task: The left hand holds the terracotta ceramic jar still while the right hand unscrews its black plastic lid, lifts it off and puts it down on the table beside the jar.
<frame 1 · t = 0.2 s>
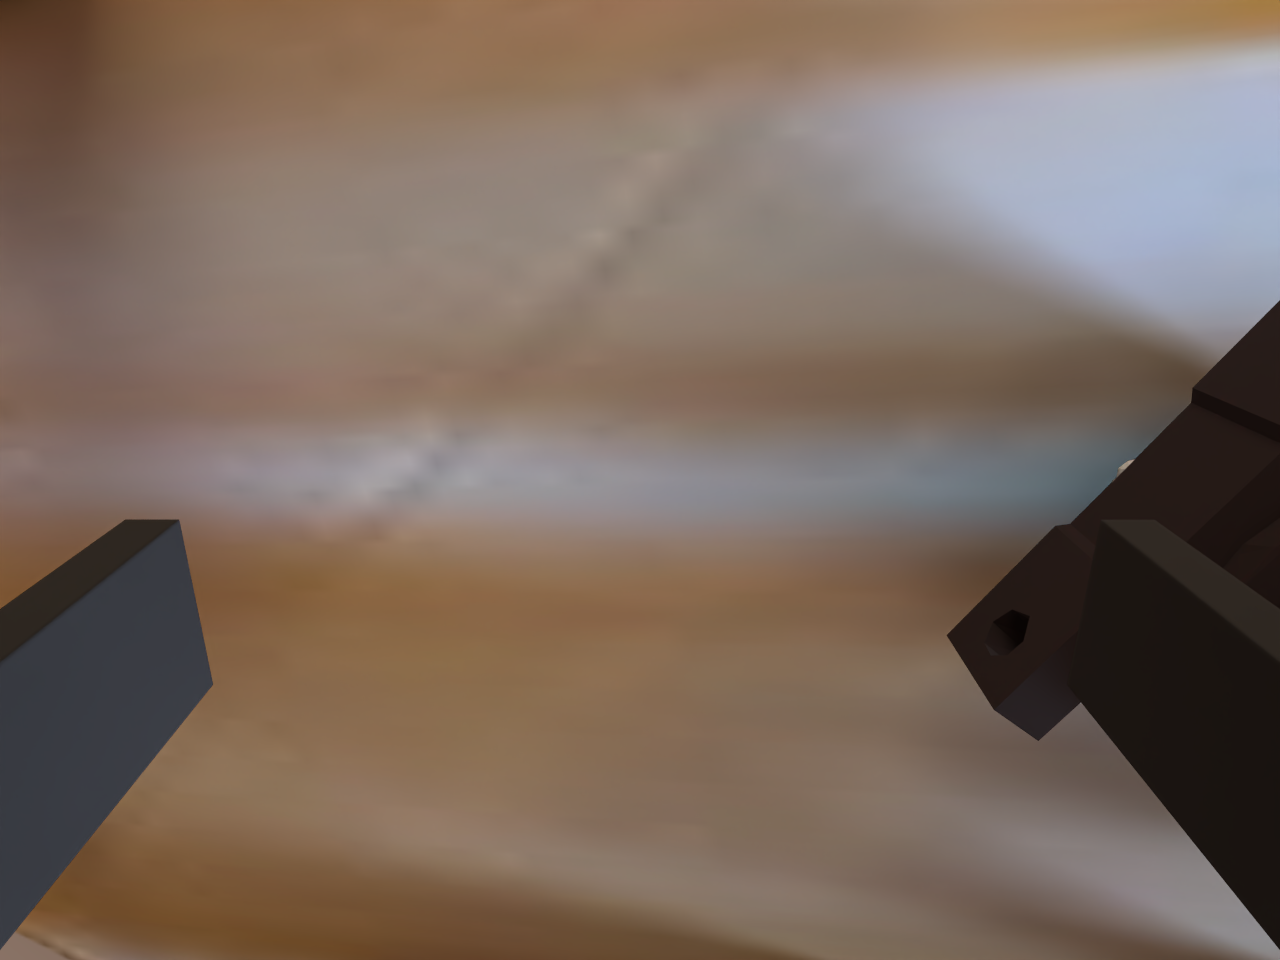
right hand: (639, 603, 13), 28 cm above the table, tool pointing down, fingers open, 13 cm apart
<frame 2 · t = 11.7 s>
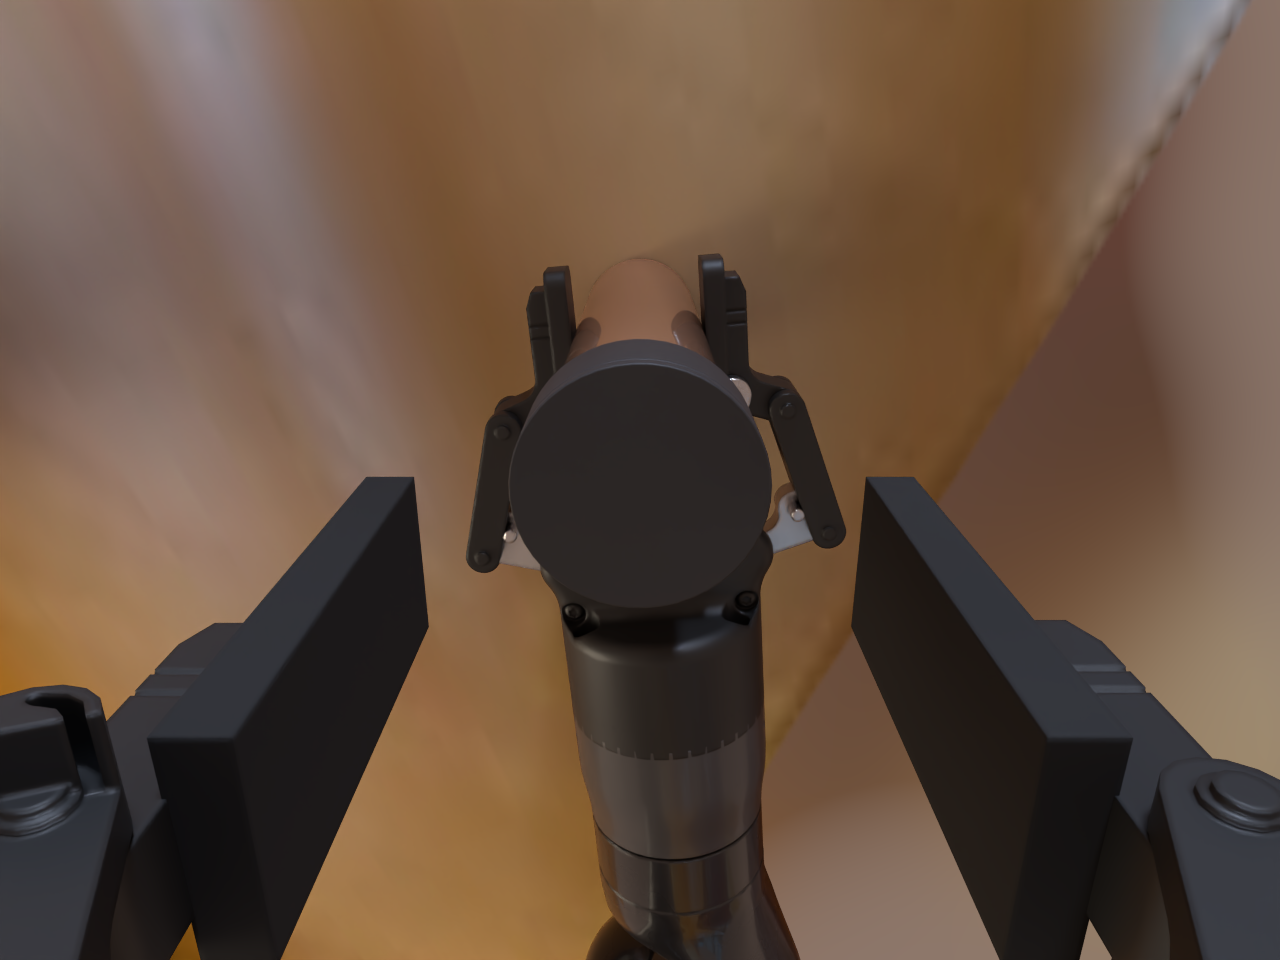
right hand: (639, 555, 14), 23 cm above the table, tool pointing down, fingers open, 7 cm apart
left hand: (632, 265, 28), fingers closed on jar, 4 cm apart
jar: (639, 313, 35), on the table, touching left hand
lid: (640, 486, 17), point 19 cm above the table, screwed on, not yet turned
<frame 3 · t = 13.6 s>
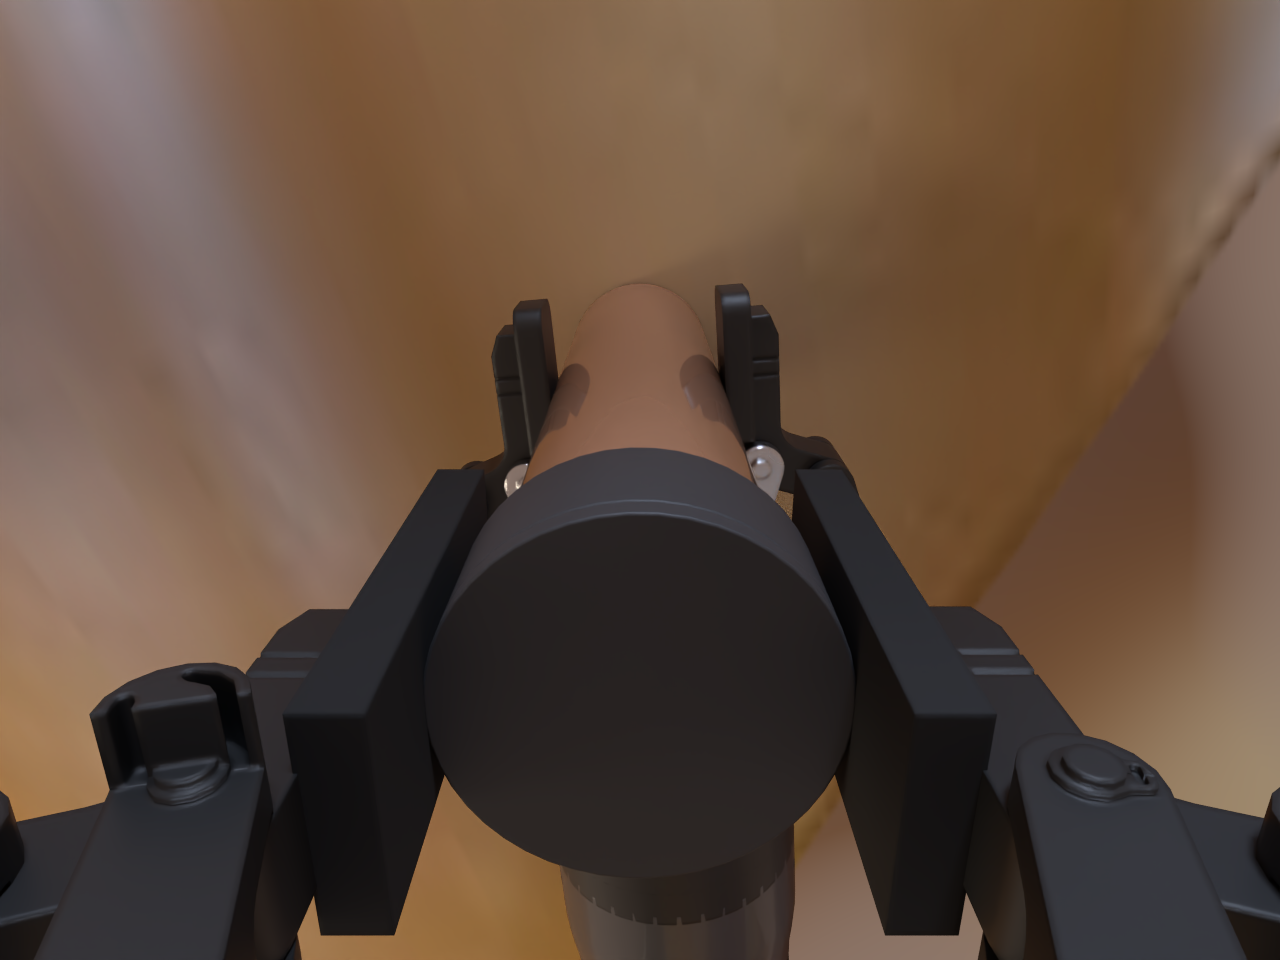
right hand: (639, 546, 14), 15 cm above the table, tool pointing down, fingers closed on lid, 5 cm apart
jar: (639, 350, 29), on the table, touching left hand
lid: (639, 694, 10), point 19 cm above the table, screwed on, not yet turned, touching right hand
when the right hand's fingers open (15 cm above the table, at t = 14.7 s): lid stays where it is, point 20 cm above the table.
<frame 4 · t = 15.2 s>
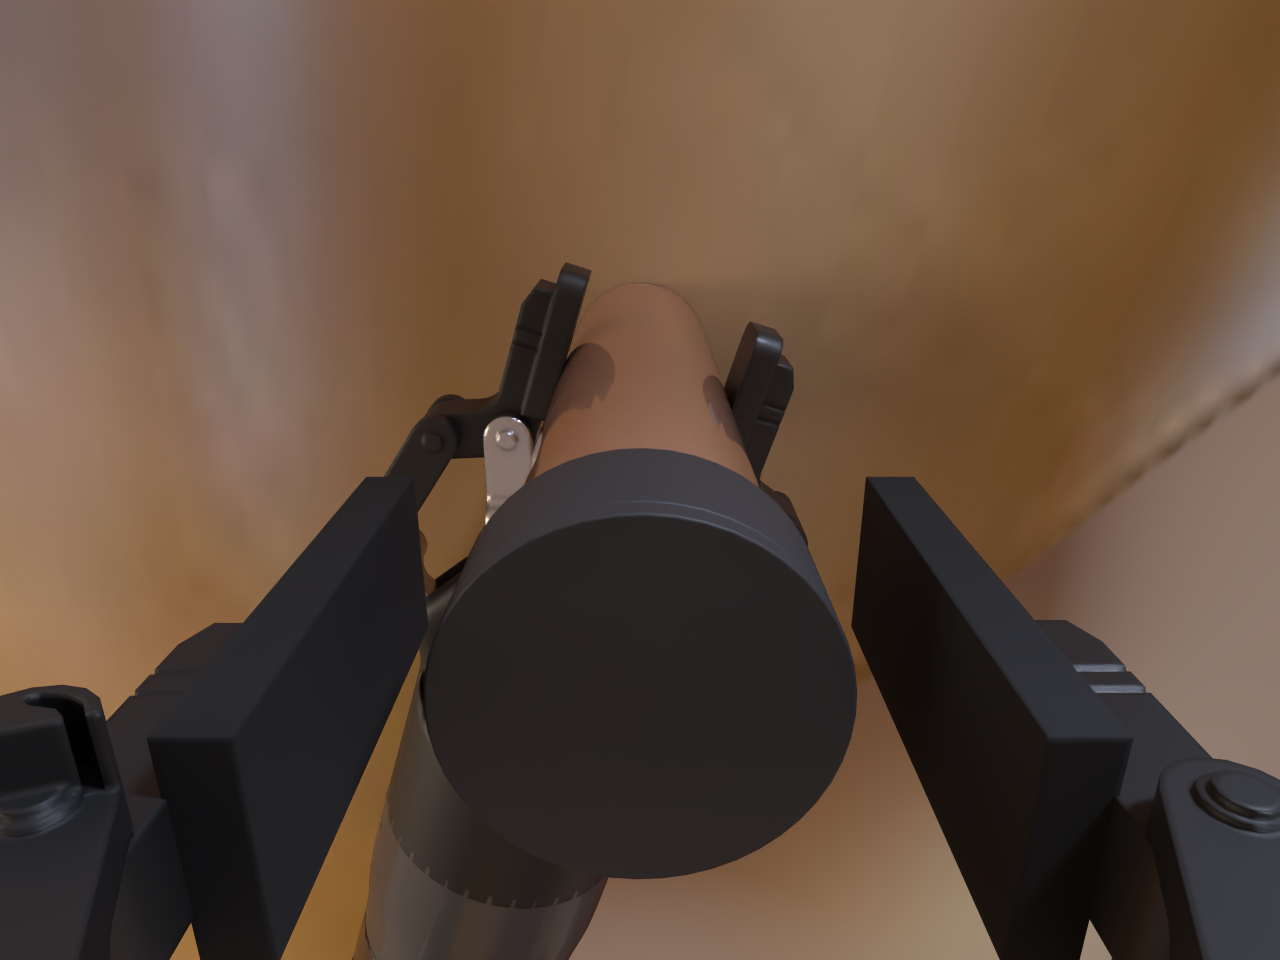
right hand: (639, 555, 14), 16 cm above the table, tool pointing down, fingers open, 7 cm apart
jar: (639, 349, 29), on the table, touching left hand
lid: (640, 695, 10), point 20 cm above the table, turned 70° so far, risen 0.2 cm, still on its thread
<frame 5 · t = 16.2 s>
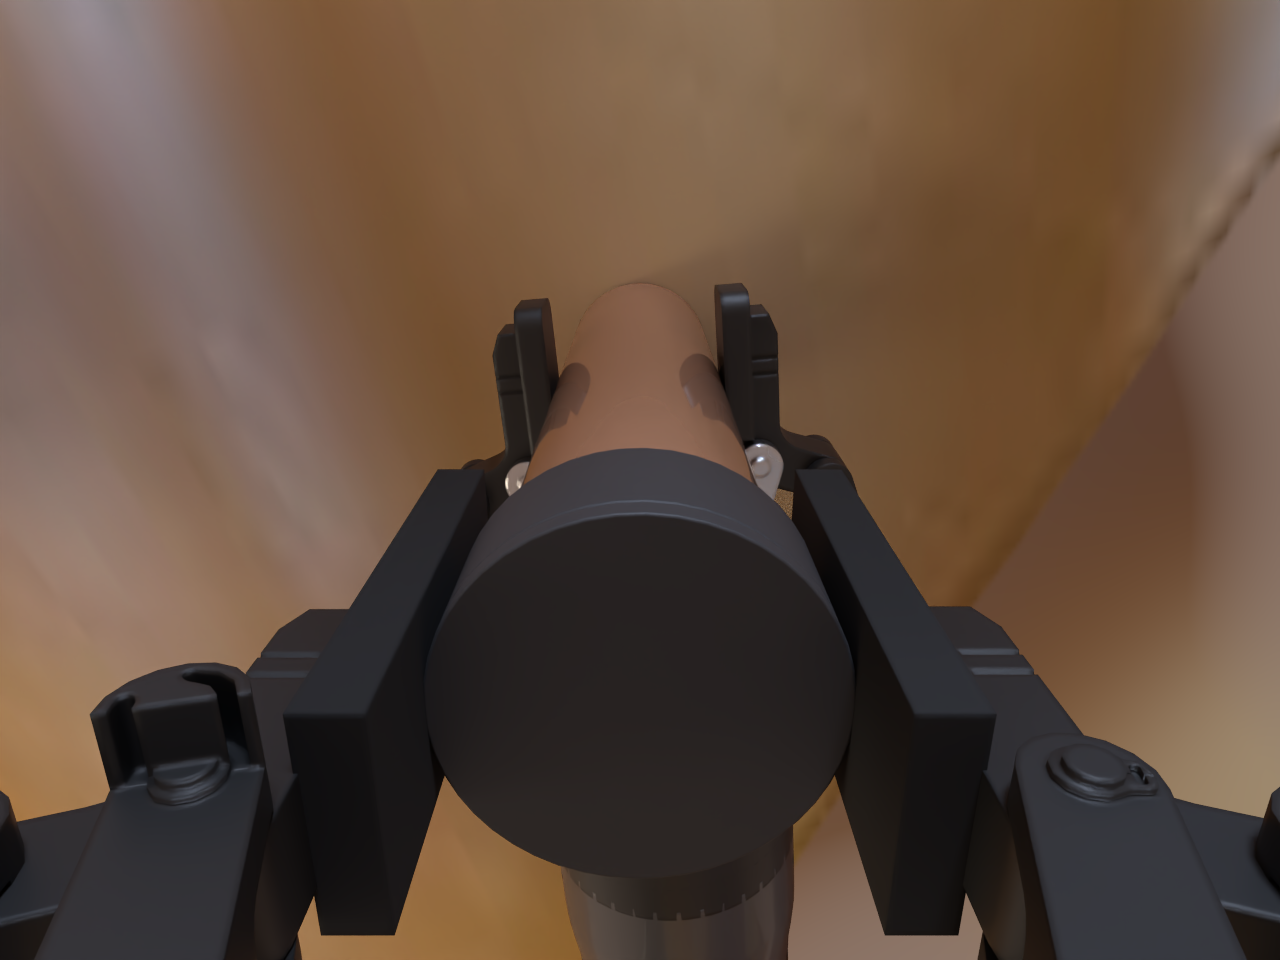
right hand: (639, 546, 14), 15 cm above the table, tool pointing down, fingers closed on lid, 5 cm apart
jar: (639, 349, 29), on the table, touching left hand
lid: (639, 695, 10), point 20 cm above the table, turned 70° so far, risen 0.2 cm, still on its thread, touching right hand
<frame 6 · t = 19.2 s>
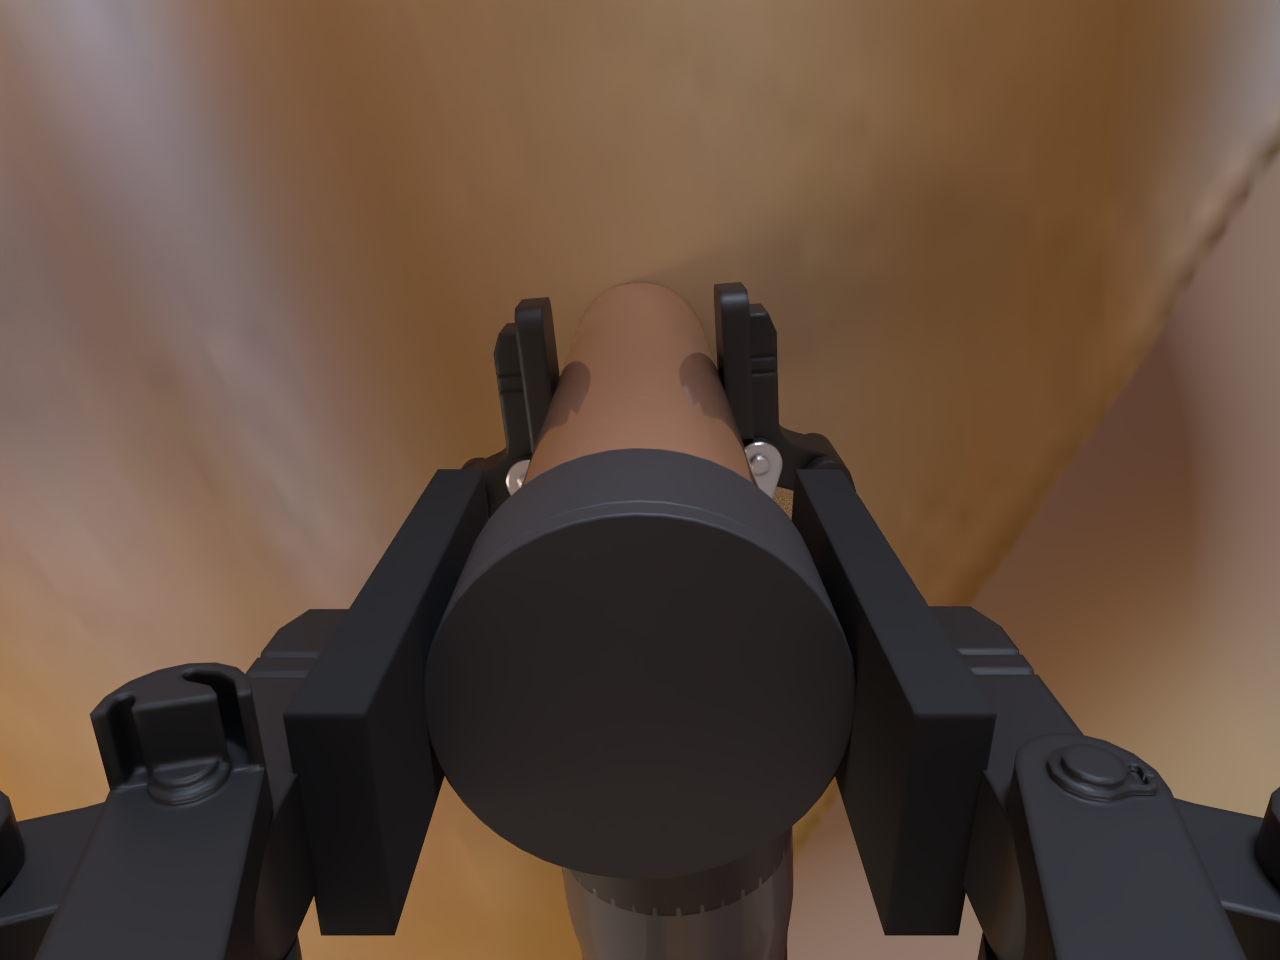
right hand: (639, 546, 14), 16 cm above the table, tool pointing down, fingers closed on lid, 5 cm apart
jar: (639, 348, 29), on the table, touching left hand
lid: (639, 695, 10), point 20 cm above the table, turned 141° so far, risen 0.3 cm, still on its thread, touching right hand
when the right hand's fingers open (0 cm above the table, at t = 24.9 s): lid drops 2 cm, point 2 cm above the table.
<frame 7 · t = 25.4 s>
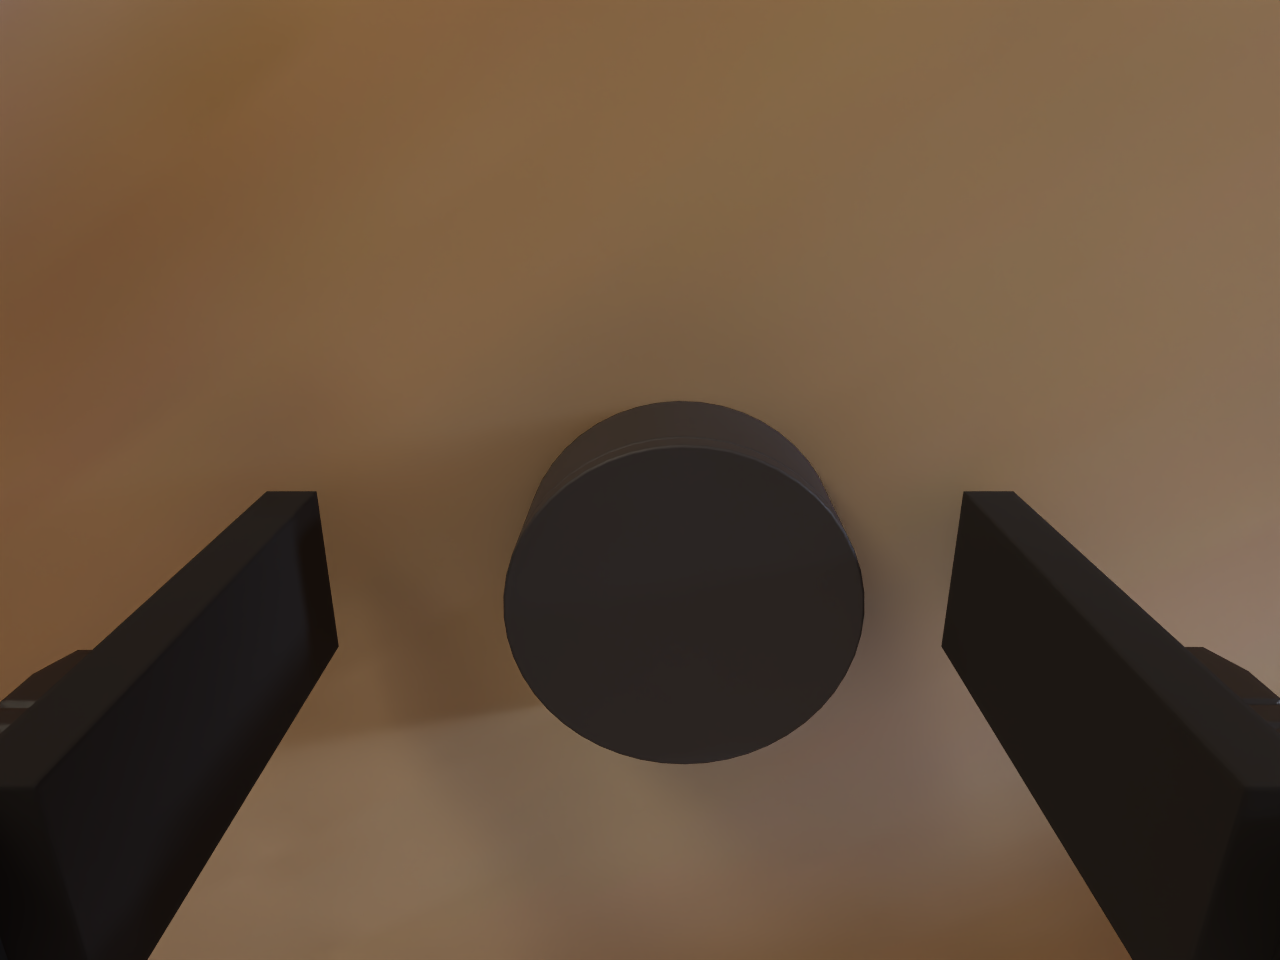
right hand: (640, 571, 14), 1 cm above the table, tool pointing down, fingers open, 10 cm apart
lid: (682, 604, 13), point 2 cm above the table, off its thread
when the left hand's fingers open (7 cm above the table, at t = 26.0 s): jar stays where it is, on the table.
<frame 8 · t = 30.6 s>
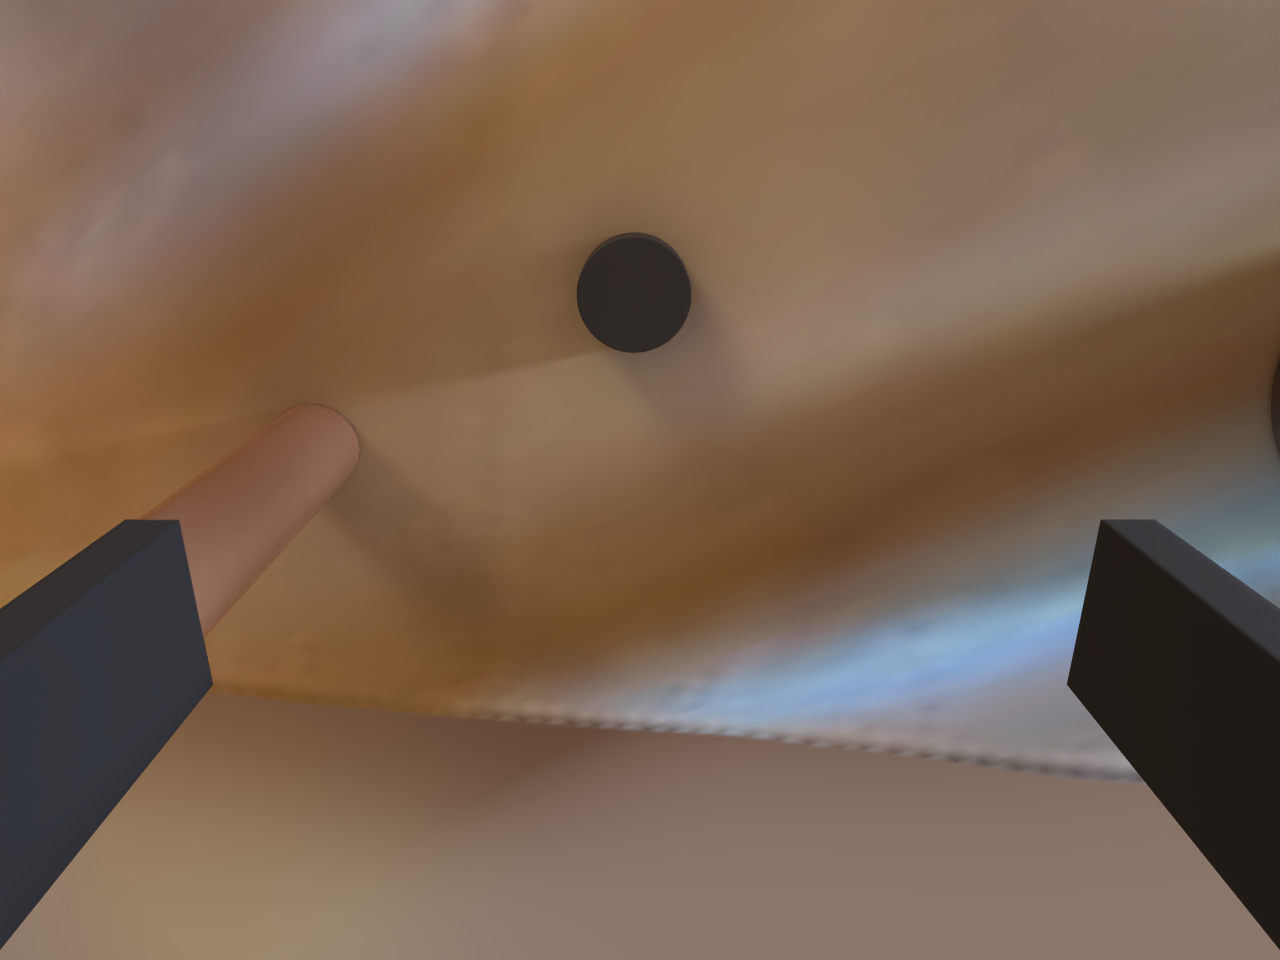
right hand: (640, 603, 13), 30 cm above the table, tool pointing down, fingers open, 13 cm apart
jar: (316, 445, 43), on the table
lid: (634, 294, 39), point 2 cm above the table, off its thread
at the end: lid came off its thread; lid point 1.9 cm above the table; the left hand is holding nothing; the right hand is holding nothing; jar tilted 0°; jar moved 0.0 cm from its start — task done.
